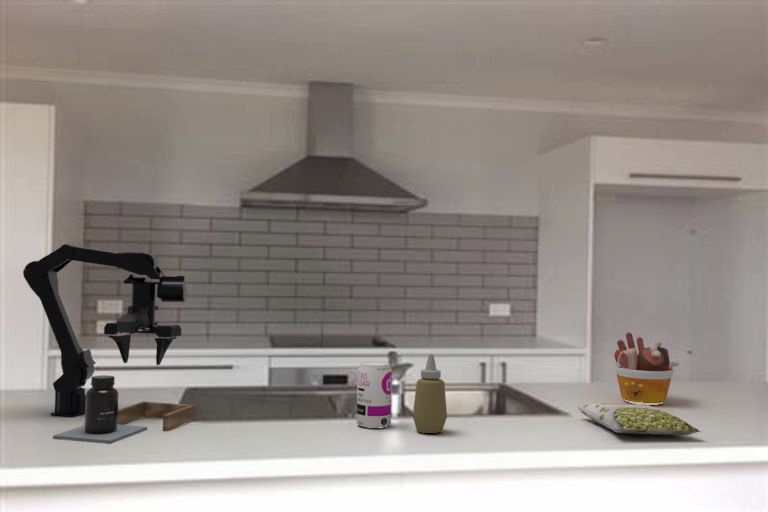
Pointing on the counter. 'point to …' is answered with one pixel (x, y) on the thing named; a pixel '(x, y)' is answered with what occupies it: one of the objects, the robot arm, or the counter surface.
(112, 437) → the grey mat
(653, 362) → the bucket of meat
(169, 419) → the walnut frame
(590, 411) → the frozen beans
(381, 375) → the supplement can
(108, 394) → the supplement bottle
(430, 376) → the squeeze bottle
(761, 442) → the counter surface
